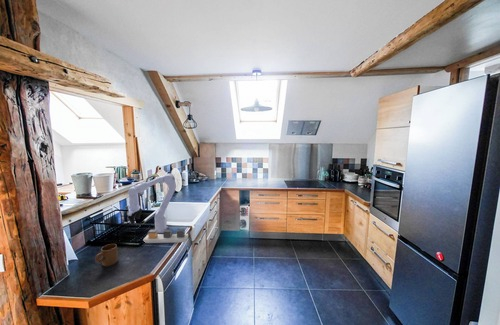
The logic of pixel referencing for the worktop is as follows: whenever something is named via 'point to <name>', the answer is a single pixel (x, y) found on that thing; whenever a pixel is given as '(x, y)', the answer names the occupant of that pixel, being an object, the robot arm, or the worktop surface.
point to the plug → (152, 234)
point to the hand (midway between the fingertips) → (135, 221)
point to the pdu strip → (165, 240)
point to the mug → (108, 255)
